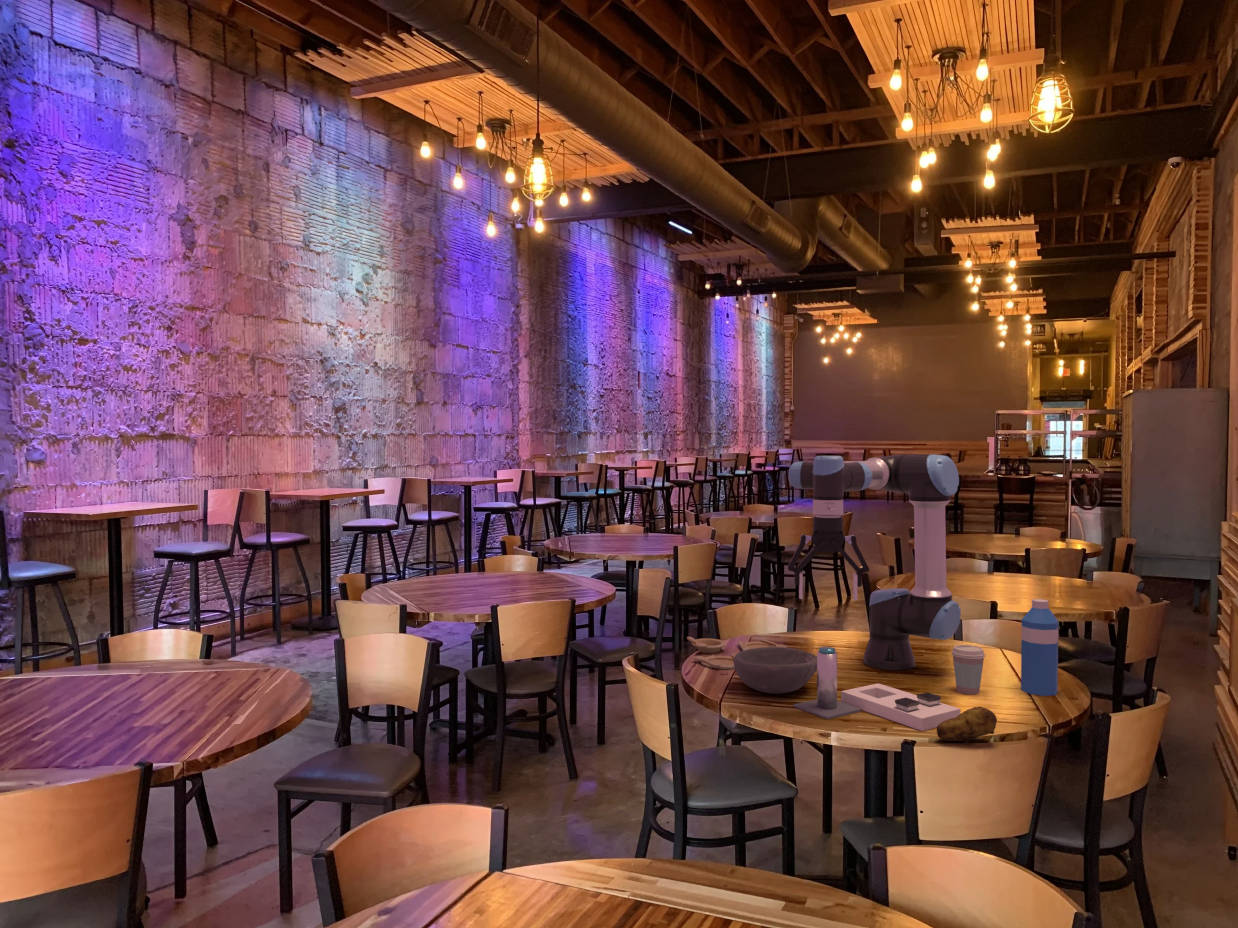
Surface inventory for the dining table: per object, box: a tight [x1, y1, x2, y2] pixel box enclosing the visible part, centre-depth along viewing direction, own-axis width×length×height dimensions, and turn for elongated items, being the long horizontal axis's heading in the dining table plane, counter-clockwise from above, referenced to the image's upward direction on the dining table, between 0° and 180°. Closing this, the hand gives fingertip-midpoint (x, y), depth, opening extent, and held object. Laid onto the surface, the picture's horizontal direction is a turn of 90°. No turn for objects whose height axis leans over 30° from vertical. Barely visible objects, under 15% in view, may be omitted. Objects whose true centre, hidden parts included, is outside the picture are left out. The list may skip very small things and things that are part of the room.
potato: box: [936, 706, 998, 742], centre depth 197 cm, size 8×13×8 cm, turn 70°
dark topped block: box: [916, 692, 942, 707], centre depth 216 cm, size 4×4×3 cm
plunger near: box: [895, 698, 919, 713], centre depth 212 cm, size 4×4×3 cm
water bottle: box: [1020, 598, 1059, 697], centre depth 236 cm, size 9×9×25 cm
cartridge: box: [816, 646, 838, 710], centre depth 221 cm, size 5×5×15 cm
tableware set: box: [686, 636, 789, 670], centre depth 276 cm, size 35×29×4 cm
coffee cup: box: [951, 644, 986, 695], centre depth 236 cm, size 8×9×12 cm
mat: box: [793, 698, 862, 720], centre depth 221 cm, size 12×12×1 cm
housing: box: [840, 683, 961, 732], centre depth 219 cm, size 26×14×3 cm, turn 31°
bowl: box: [734, 647, 817, 695], centre depth 238 cm, size 23×22×10 cm
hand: (827, 598), depth 220 cm, fingers open, 13 cm apart
